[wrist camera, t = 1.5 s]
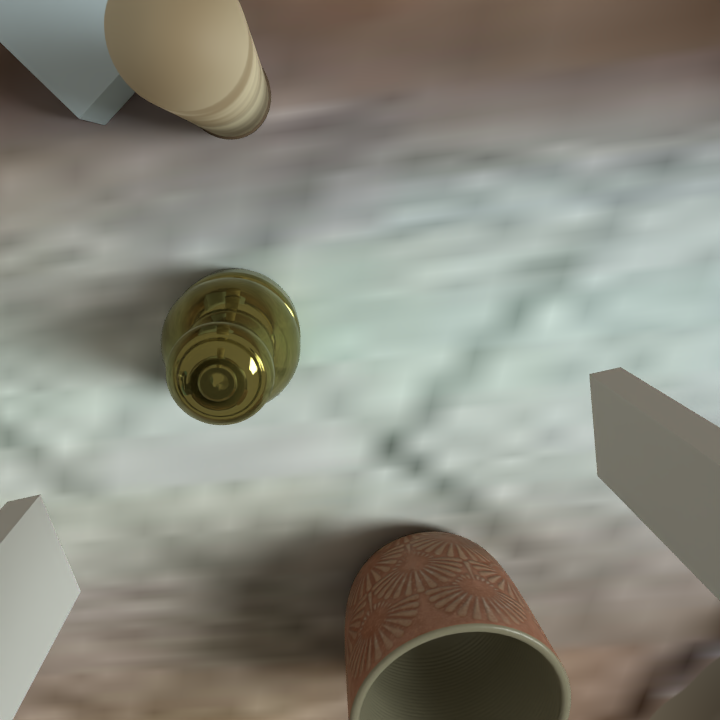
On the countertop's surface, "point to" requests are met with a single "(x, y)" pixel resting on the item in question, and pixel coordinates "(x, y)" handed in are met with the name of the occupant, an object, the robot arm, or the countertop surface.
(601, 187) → the countertop surface
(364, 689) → the planter
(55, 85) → the slate board
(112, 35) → the beech peg
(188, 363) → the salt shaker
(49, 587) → the robot arm
